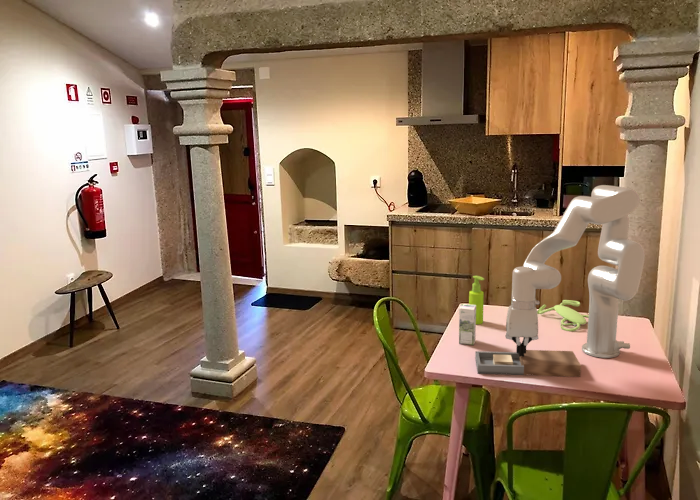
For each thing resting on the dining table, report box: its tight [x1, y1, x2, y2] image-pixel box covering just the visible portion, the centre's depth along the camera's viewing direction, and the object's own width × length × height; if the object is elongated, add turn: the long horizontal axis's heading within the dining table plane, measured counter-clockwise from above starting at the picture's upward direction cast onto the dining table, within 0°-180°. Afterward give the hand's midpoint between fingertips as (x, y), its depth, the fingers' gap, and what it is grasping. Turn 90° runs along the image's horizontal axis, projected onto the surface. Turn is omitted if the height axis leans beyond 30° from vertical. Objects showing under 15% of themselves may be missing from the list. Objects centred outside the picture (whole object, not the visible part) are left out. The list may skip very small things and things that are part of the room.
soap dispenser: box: [468, 275, 485, 326], centre depth 241 cm, size 6×7×20 cm
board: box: [519, 349, 582, 378], centre depth 198 cm, size 18×12×4 cm, turn 82°
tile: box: [493, 354, 513, 365], centre depth 200 cm, size 6×6×2 cm
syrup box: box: [458, 303, 477, 346], centre depth 221 cm, size 6×6×14 cm
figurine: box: [537, 299, 589, 332], centre depth 243 cm, size 18×27×6 cm
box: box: [474, 350, 525, 376], centre depth 200 cm, size 15×12×3 cm
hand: (521, 355), depth 198 cm, fingers closed
